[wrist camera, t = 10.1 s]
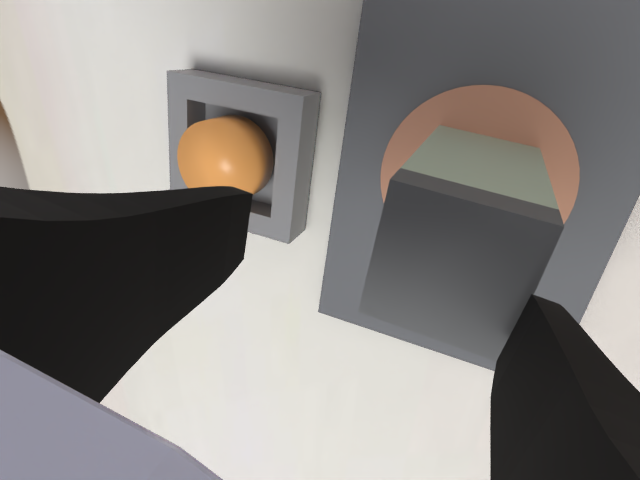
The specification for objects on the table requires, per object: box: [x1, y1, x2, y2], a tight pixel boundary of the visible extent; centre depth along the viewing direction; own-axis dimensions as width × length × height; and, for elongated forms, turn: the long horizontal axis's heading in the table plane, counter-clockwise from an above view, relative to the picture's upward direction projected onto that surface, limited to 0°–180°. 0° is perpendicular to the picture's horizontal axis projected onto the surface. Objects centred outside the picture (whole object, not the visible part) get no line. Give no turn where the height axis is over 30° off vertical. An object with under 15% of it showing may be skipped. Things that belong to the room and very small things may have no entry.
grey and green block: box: [358, 125, 564, 361], centre depth 15 cm, size 4×4×9 cm
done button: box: [177, 115, 274, 195], centre depth 21 cm, size 4×4×2 cm
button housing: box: [167, 69, 321, 244], centre depth 22 cm, size 7×7×2 cm
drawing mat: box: [318, 0, 640, 371], centre depth 19 cm, size 12×18×1 cm, turn 173°
